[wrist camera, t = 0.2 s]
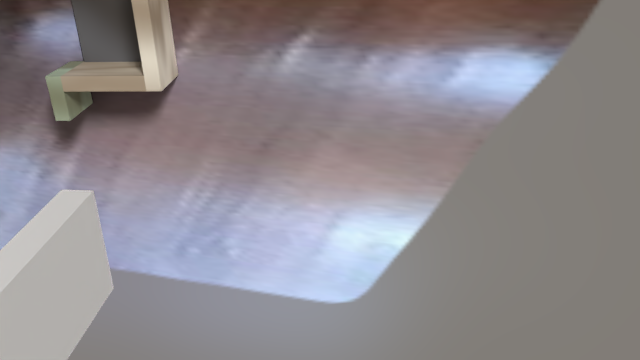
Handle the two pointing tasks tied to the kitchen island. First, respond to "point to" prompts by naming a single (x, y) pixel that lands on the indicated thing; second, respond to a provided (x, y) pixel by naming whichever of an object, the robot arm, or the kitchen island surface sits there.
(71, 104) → the channel
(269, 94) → the kitchen island surface
